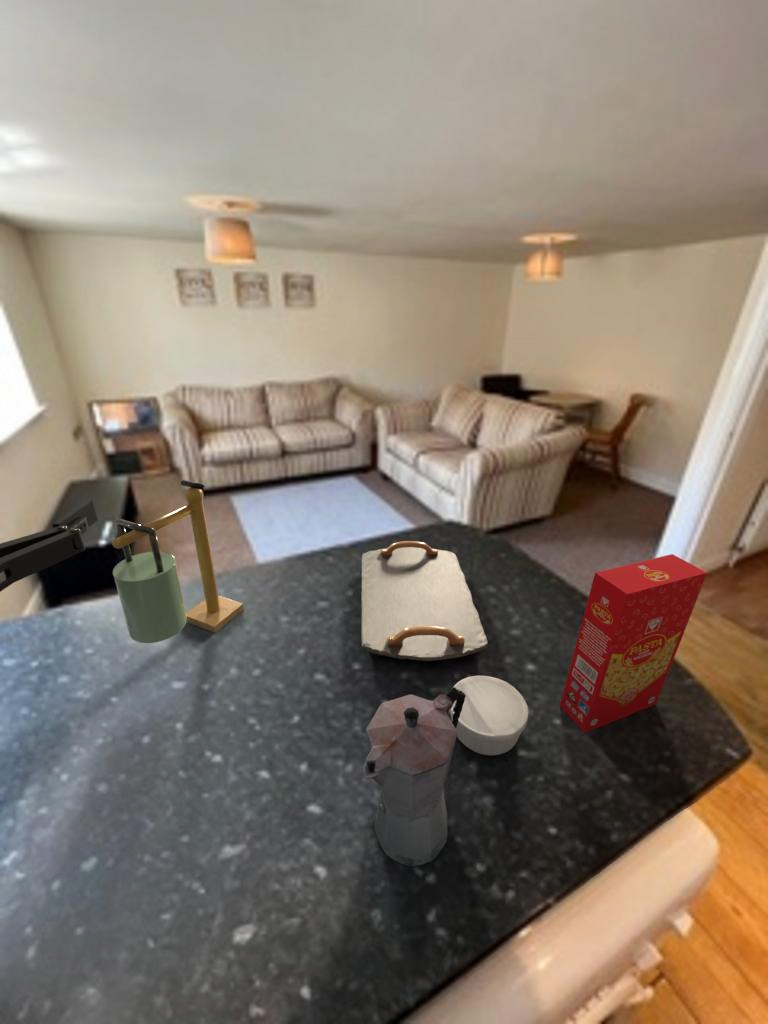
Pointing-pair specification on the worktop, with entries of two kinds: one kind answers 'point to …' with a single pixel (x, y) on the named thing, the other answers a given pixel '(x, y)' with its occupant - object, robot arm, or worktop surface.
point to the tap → (214, 607)
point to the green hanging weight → (149, 590)
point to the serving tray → (417, 605)
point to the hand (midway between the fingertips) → (37, 509)
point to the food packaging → (629, 638)
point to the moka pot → (412, 773)
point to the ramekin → (490, 715)
